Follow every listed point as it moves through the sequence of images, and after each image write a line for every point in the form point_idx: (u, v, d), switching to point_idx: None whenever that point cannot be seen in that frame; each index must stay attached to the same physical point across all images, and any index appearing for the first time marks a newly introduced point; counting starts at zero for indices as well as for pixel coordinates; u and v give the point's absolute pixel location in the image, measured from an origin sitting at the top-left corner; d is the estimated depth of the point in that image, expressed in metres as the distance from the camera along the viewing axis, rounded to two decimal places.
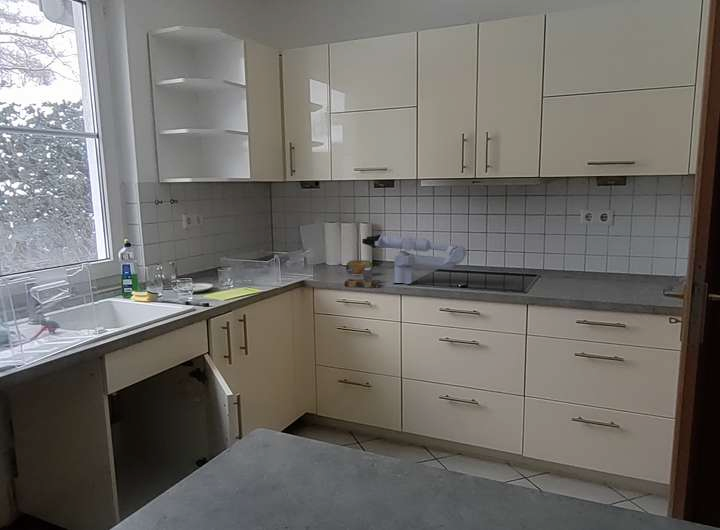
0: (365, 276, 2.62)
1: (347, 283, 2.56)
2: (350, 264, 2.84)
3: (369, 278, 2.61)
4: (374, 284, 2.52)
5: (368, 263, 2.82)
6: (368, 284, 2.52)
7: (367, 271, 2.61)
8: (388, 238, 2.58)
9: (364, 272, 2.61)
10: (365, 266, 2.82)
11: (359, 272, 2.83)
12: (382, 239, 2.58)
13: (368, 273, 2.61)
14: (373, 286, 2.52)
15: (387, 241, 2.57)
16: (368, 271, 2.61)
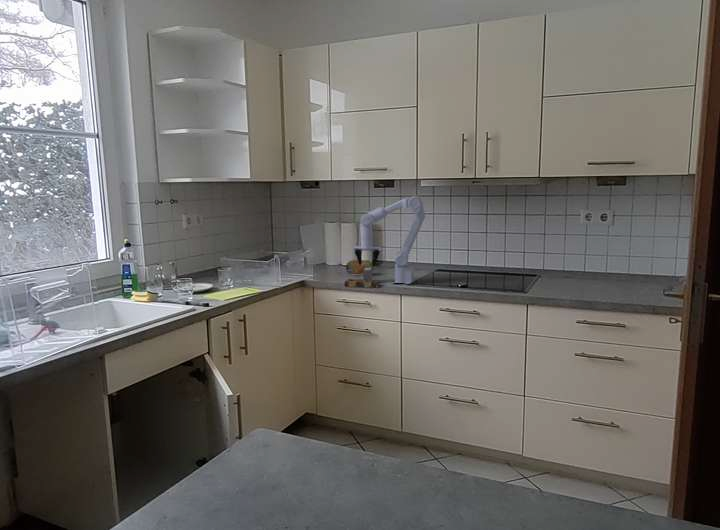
0: (365, 276, 2.62)
1: (347, 283, 2.56)
2: (350, 264, 2.84)
3: (369, 278, 2.61)
4: (374, 284, 2.52)
5: (368, 263, 2.82)
6: (368, 284, 2.52)
7: (367, 271, 2.61)
8: (369, 240, 2.57)
9: (364, 272, 2.62)
10: (365, 266, 2.82)
11: (359, 272, 2.83)
12: (371, 245, 2.58)
13: (368, 273, 2.61)
14: (373, 286, 2.52)
15: (371, 240, 2.58)
16: (368, 271, 2.61)
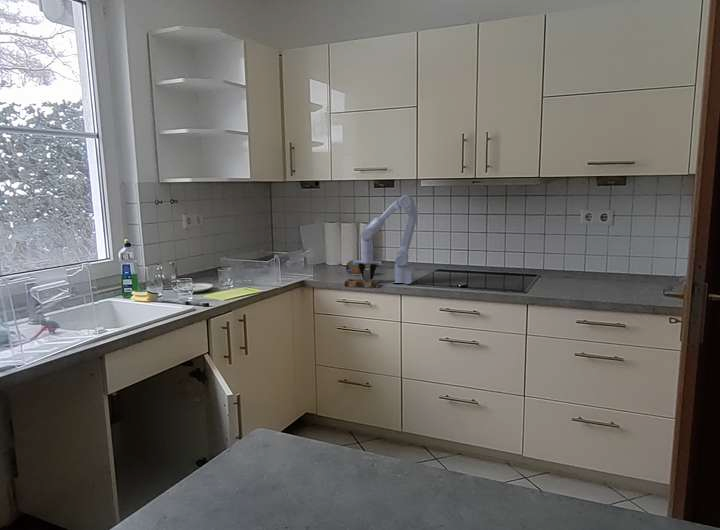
0: (365, 276, 2.62)
1: (347, 283, 2.56)
2: (350, 264, 2.84)
3: (369, 278, 2.61)
4: (374, 284, 2.52)
5: None
6: (368, 284, 2.52)
7: (367, 271, 2.61)
8: (369, 254, 2.59)
9: (364, 272, 2.61)
10: (365, 266, 2.82)
11: (359, 272, 2.83)
12: (371, 260, 2.60)
13: (368, 273, 2.61)
14: (373, 286, 2.52)
15: (372, 254, 2.60)
16: (368, 271, 2.61)
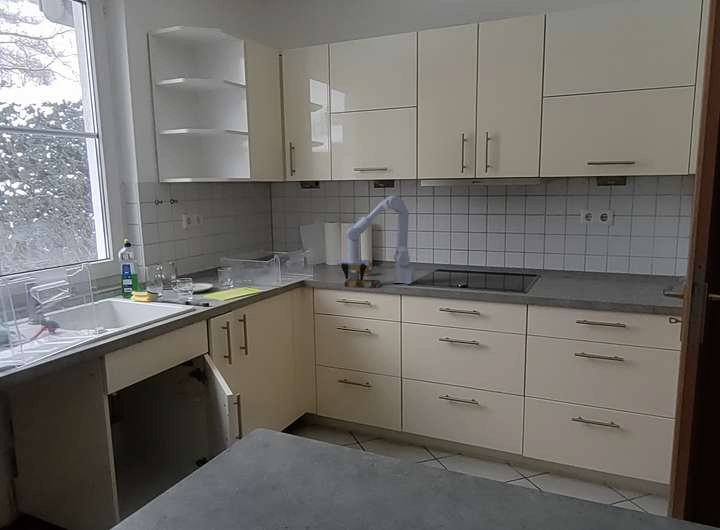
0: (351, 278, 2.57)
1: (347, 283, 2.56)
2: None
3: (356, 280, 2.56)
4: (374, 284, 2.52)
5: None
6: (368, 284, 2.52)
7: (353, 273, 2.56)
8: (355, 254, 2.53)
9: (350, 274, 2.56)
10: None
11: (359, 272, 2.83)
12: (357, 260, 2.54)
13: (355, 275, 2.56)
14: (373, 286, 2.52)
15: (358, 254, 2.54)
16: (354, 273, 2.56)
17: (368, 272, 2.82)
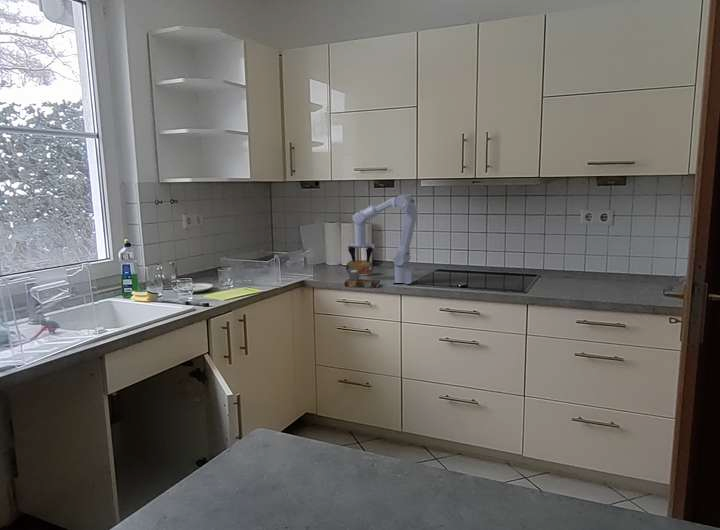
0: (351, 278, 2.57)
1: (347, 283, 2.56)
2: (350, 264, 2.84)
3: (356, 280, 2.56)
4: (374, 284, 2.52)
5: (368, 263, 2.82)
6: (368, 284, 2.52)
7: (353, 273, 2.56)
8: (362, 237, 2.63)
9: (350, 274, 2.56)
10: (365, 266, 2.82)
11: (359, 272, 2.83)
12: (364, 243, 2.64)
13: (355, 275, 2.56)
14: (373, 286, 2.52)
15: (365, 238, 2.65)
16: (354, 273, 2.56)
17: (368, 272, 2.82)
